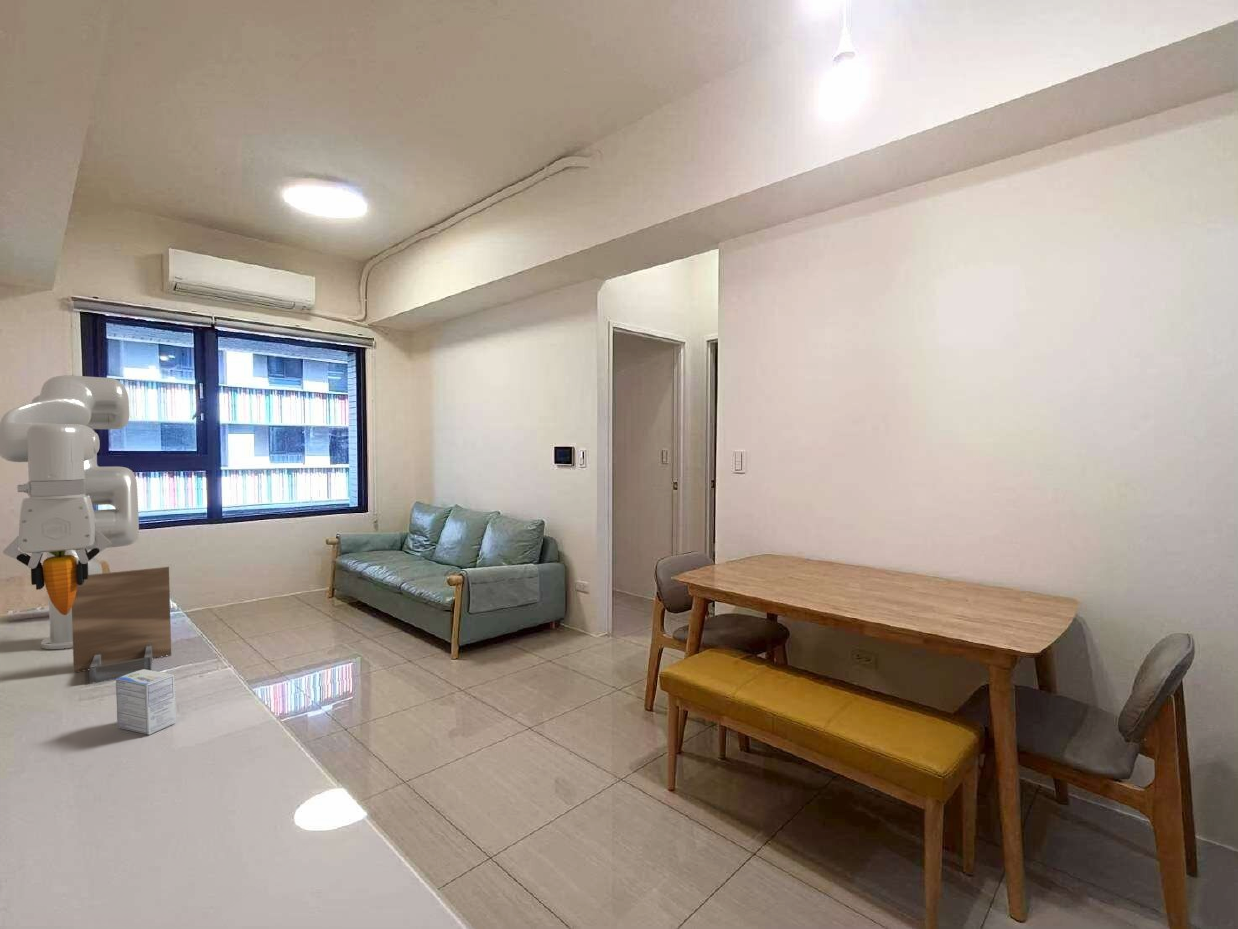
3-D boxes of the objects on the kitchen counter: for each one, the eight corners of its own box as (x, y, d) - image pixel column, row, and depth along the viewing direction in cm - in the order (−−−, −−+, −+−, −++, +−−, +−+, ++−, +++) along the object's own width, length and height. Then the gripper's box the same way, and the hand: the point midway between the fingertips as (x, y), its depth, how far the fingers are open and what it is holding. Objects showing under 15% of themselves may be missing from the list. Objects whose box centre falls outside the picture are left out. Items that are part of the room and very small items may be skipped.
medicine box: (176, 724, 97) (175, 673, 97) (147, 736, 93) (146, 684, 93) (145, 716, 100) (144, 668, 100) (116, 728, 96) (114, 677, 95)
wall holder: (74, 670, 120) (71, 576, 120) (171, 653, 130) (168, 566, 129) (66, 688, 112) (63, 586, 111) (170, 668, 121) (168, 575, 121)
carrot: (88, 612, 110) (80, 535, 109) (54, 620, 105) (45, 540, 104) (75, 609, 112) (67, 534, 111) (41, 617, 107) (33, 539, 106)
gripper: (-15, 493, 99) (-11, 597, 100) (116, 489, 109) (118, 583, 110) (-4, 490, 105) (0, 588, 106) (119, 486, 115) (122, 576, 116)
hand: (60, 584), depth 108 cm, fingers closed on carrot, 4 cm apart
